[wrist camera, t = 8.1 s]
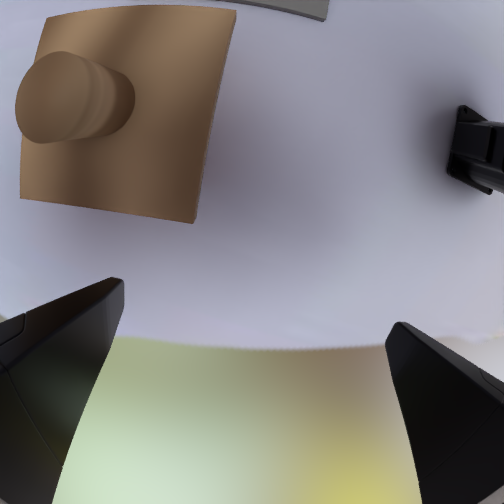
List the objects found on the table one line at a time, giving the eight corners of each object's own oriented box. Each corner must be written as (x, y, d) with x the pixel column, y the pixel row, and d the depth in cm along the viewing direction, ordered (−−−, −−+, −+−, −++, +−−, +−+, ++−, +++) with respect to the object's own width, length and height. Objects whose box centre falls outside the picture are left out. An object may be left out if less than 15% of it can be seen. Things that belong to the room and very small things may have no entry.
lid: (236, 18, 11) (236, -41, 6) (196, 217, 16) (173, 269, 10) (56, 22, 10) (-6, -3, 4) (31, 193, 14) (-36, 226, 9)
